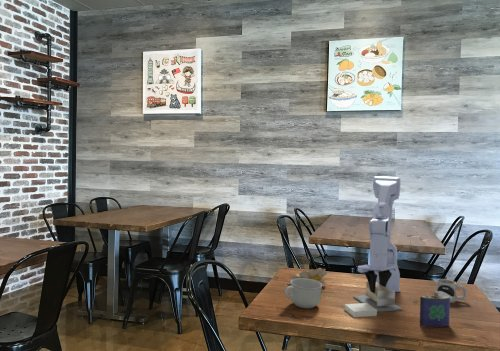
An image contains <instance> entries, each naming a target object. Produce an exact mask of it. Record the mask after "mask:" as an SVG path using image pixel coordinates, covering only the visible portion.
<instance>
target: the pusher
mask: <svg viewBox="0 0 500 351" xmlns="http://www.w3.org/2000/svg"><path fill="white" fill-rule="evenodd" d="M365 284H366V286H365V287H366V288H365V292H366V293H365V295H366V296H368V297H370V298H371V299H373V300H374V301H376V302H377V306H389V305H394V304H395V305H396V303H395V302H396V301H395V300H396V299H395V298H396V292H395V290H389V289H387V288H385V287H384V286H382V285H380V284H378V283H376V287H375V293H372V292H371V291H370V287H369V283H368V280H367V281H366V283H365Z"/></svg>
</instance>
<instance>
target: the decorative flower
mask: <svg viewBox="0 0 500 351" xmlns="http://www.w3.org/2000/svg"><path fill="white" fill-rule="evenodd" d="M329 272H330V271H329V270H328V271H326V268H322V267H318V268H316V269H314V268H311V269H310V270H308V271H307V270H306V271H304V270H303V271H301V272H300V273H297V274H294V275H291V276H289V279H291V280H293V279H298V278H305V279H312V280H316V281H318V282H320V283H321V284H322V285H323V286H324V285H327V281H325V280H324V279H323V277H325V276H327V274H328V273H329Z"/></svg>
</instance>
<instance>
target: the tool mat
mask: <svg viewBox="0 0 500 351" xmlns="http://www.w3.org/2000/svg"><path fill="white" fill-rule="evenodd" d="M353 299H354V300H357V301H358V302H359V303H367V304H369V305H370V306H372V307H373V308H375V309H376V310H377V313H383V312H396V311H403V308H402V307H400V306H399V305H397V304H396V303H395V304H394V305H389V306H377V302H376V301H374V300H373V299H371V298H370V297H368V296H366V294H365V295H353Z"/></svg>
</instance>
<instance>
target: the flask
mask: <svg viewBox="0 0 500 351" xmlns="http://www.w3.org/2000/svg"><path fill="white" fill-rule="evenodd" d="M439 294H440V293H439ZM419 300H420V302H419V303H420V304H419V326H420V327H421V326H422V327H421V328H426V327H433V329H435V328H439V327H440V328H448V327H450V314H451V310H450V309H451V303H450V297H448V296H439V295H438V291H436V290H434V293H433V294H432V295H431V294H428V295H427V294H425V295H421V296H420V298H419Z"/></svg>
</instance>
